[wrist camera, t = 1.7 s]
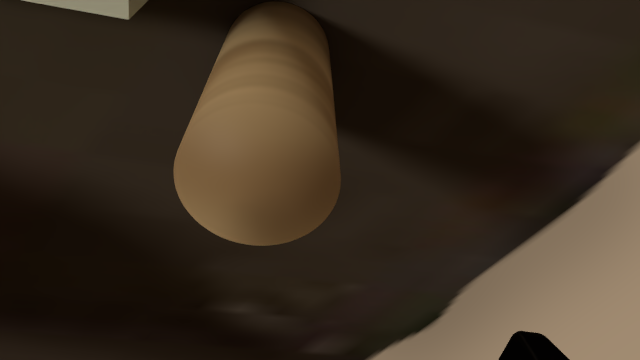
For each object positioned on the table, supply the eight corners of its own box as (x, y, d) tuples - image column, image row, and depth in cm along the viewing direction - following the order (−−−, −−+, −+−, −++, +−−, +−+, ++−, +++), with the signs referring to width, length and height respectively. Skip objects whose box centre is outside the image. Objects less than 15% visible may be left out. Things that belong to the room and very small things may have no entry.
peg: (318, 109, 19) (323, 255, 12) (220, 93, 19) (170, 234, 12) (339, 12, 17) (357, 122, 10) (230, -9, 17) (176, 92, 10)
